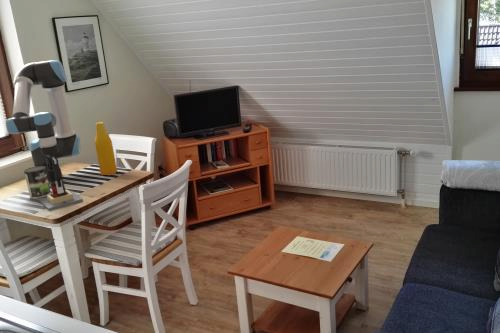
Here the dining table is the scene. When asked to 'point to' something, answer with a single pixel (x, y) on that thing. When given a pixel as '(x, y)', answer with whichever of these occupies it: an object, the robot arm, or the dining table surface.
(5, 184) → the dining table surface
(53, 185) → the deodorant
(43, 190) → the coffee can
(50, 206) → the hub board
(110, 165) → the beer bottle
